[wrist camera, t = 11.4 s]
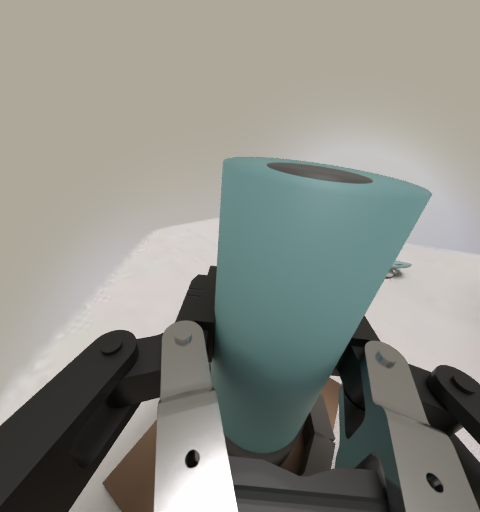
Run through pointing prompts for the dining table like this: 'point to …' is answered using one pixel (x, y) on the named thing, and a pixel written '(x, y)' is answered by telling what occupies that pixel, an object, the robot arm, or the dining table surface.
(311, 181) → the teal cylinder
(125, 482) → the socket
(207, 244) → the dining table surface
